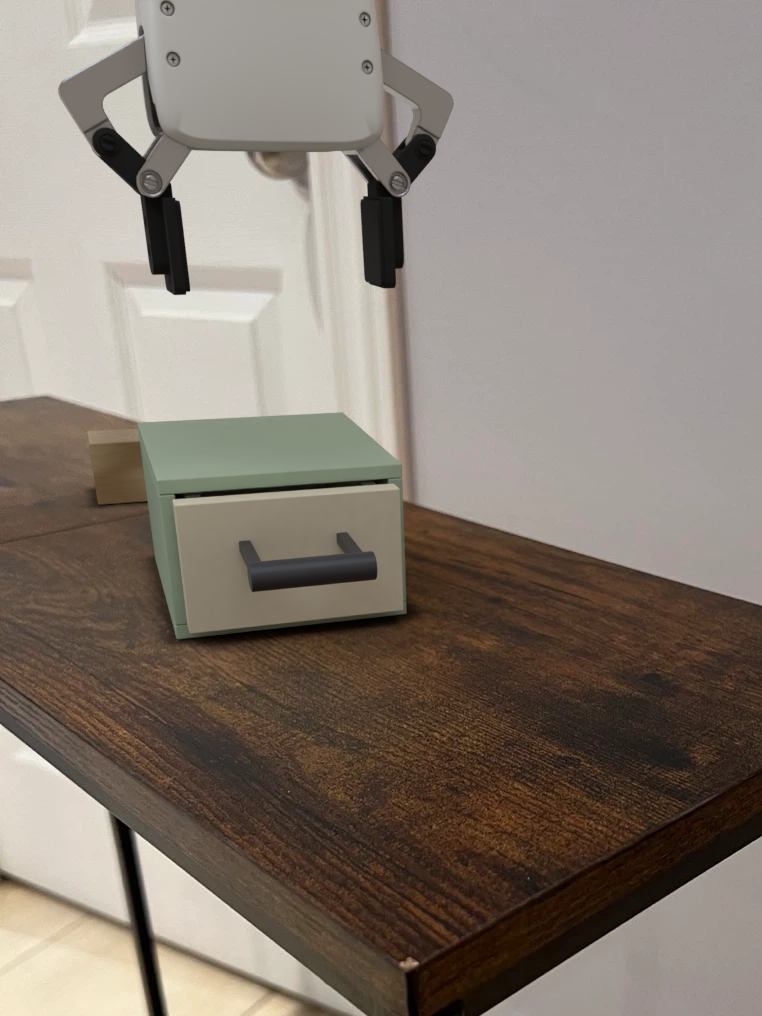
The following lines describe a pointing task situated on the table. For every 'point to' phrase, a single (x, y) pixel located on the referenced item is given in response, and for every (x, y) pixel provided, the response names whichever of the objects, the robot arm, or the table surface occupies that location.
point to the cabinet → (251, 477)
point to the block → (117, 466)
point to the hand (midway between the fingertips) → (282, 289)
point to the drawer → (289, 554)
